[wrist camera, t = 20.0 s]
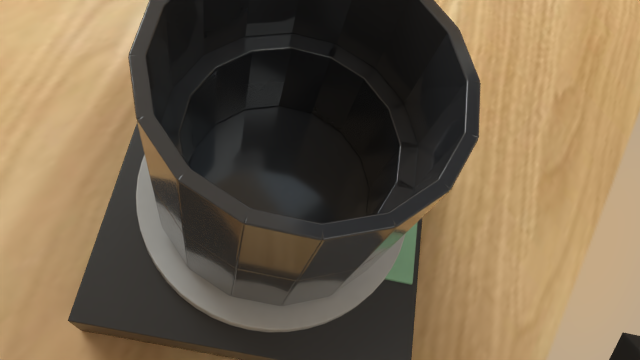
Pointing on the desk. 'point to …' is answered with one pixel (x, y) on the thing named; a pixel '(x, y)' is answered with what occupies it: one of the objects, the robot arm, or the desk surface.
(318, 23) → the cup
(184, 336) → the scale
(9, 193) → the desk surface
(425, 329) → the desk surface
